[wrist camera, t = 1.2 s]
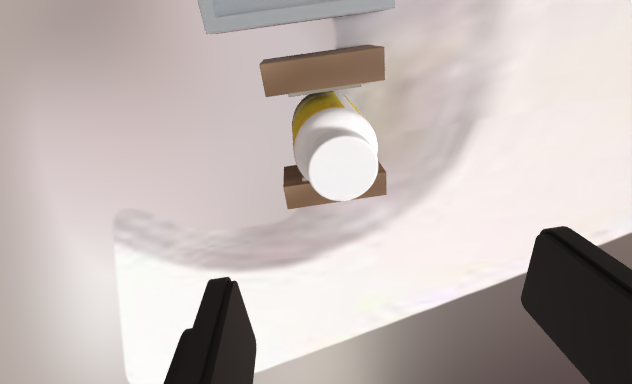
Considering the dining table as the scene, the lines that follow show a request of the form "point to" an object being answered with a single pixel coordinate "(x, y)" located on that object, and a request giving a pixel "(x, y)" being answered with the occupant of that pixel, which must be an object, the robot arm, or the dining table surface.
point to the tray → (279, 12)
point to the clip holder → (317, 77)
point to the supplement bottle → (334, 146)
